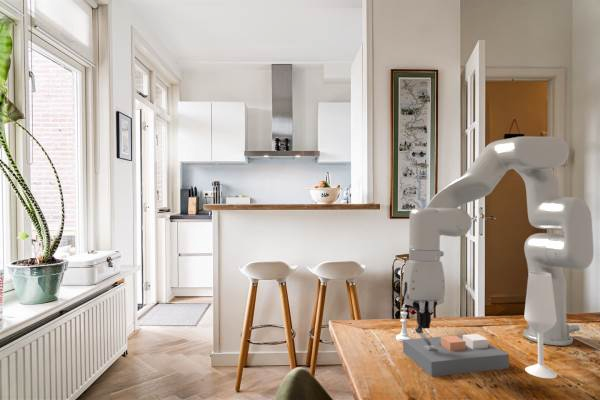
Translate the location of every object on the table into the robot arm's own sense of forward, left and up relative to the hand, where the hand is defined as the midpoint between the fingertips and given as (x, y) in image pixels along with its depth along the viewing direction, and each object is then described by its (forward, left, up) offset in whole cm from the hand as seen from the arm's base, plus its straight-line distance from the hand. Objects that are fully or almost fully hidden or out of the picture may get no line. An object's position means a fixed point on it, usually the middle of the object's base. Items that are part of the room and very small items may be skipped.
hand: (423, 326), depth 100 cm
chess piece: (-3, -17, -10) cm, 20 cm away
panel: (-8, 0, -9) cm, 13 cm away
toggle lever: (-2, 0, -5) cm, 5 cm away
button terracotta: (-8, 0, -6) cm, 10 cm away
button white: (-15, 0, -6) cm, 16 cm away
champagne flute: (-25, +11, -10) cm, 29 cm away
